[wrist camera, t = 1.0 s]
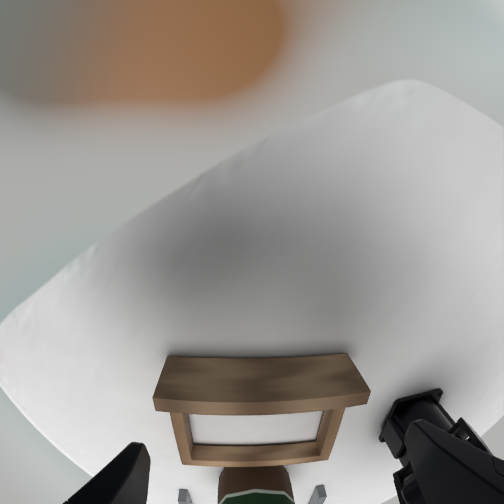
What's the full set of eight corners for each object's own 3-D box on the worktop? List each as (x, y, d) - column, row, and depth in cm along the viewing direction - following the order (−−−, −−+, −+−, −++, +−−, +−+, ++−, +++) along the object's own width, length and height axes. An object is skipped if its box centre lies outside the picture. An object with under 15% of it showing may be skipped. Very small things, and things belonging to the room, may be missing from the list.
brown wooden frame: (347, 353, 21) (370, 391, 16) (323, 445, 24) (335, 481, 19) (167, 356, 20) (152, 397, 16) (184, 449, 23) (178, 487, 18)
